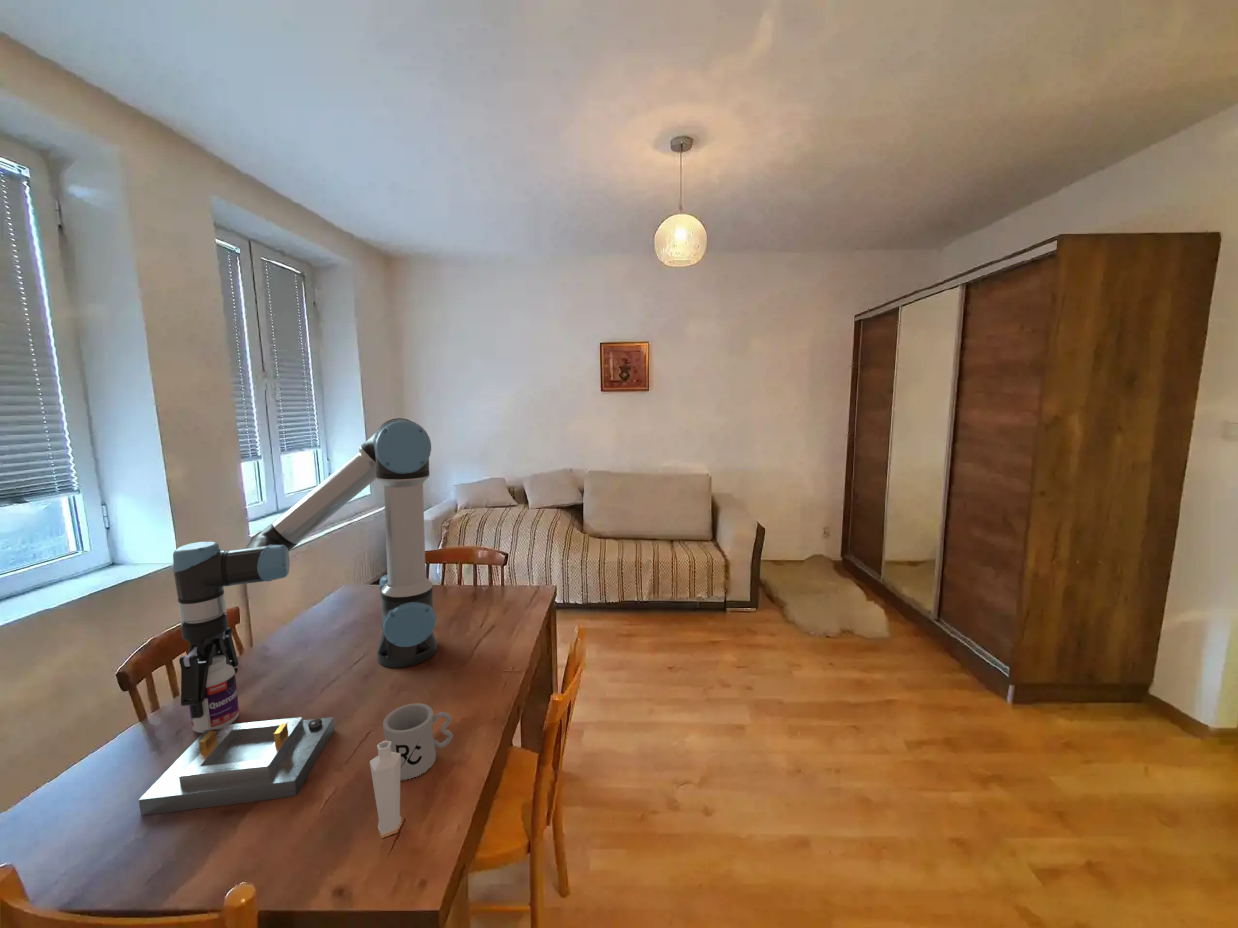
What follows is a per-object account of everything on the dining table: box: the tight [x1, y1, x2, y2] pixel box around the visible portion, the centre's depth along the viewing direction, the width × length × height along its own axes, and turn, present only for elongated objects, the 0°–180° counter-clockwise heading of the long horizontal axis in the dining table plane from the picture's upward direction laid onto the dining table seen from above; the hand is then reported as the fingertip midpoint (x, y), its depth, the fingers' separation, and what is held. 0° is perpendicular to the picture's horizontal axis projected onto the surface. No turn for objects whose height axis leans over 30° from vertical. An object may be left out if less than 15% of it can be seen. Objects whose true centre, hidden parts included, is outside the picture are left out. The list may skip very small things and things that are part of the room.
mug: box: [382, 703, 454, 781], centre depth 97 cm, size 12×9×10 cm
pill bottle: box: [188, 655, 240, 734], centre depth 109 cm, size 8×8×14 cm
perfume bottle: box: [369, 740, 403, 835], centre depth 82 cm, size 5×4×15 cm
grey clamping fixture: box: [138, 716, 335, 816], centre depth 96 cm, size 24×18×8 cm
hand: (215, 715), depth 109 cm, fingers open, 8 cm apart
